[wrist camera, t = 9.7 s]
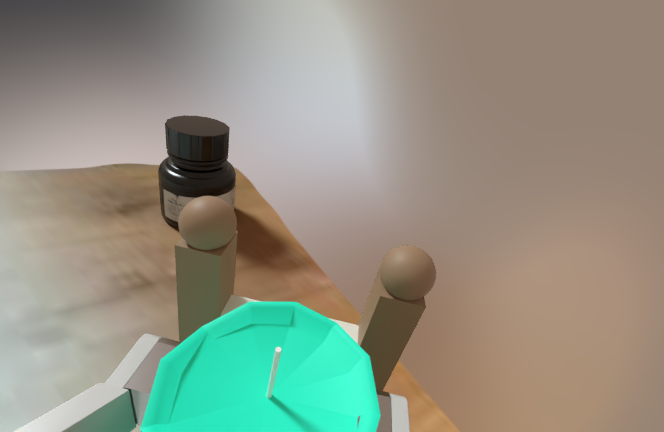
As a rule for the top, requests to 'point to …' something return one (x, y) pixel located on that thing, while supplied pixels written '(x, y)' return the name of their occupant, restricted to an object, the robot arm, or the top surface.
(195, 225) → the headboard
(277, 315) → the candle
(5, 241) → the top surface
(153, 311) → the top surface
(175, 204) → the ink bottle
